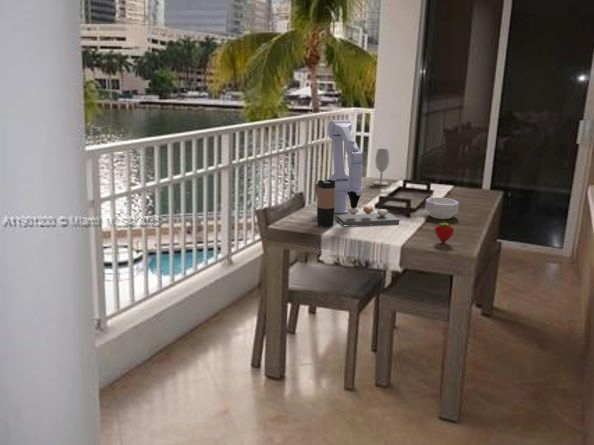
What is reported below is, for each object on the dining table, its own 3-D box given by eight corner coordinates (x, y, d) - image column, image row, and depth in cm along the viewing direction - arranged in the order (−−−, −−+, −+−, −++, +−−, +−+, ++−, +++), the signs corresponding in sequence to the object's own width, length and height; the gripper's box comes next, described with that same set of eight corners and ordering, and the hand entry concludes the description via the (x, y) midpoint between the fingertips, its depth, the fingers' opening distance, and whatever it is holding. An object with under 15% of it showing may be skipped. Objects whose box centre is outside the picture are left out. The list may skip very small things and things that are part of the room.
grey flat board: (344, 226, 259) (344, 222, 259) (336, 219, 270) (336, 215, 270) (399, 223, 265) (399, 219, 264) (389, 217, 276) (389, 212, 276)
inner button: (350, 215, 263) (350, 209, 262) (347, 212, 267) (347, 207, 266) (359, 215, 264) (359, 209, 263) (356, 212, 268) (356, 206, 267)
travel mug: (328, 228, 255) (330, 183, 250) (313, 225, 259) (314, 181, 254) (336, 224, 262) (338, 181, 256) (322, 222, 265) (323, 179, 260)
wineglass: (373, 185, 346) (375, 150, 340) (373, 182, 354) (375, 148, 349) (388, 186, 345) (390, 150, 339) (388, 183, 353) (390, 148, 347)
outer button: (379, 217, 266) (379, 211, 265) (376, 215, 270) (376, 209, 269) (388, 217, 267) (388, 211, 266) (385, 214, 271) (385, 209, 270)
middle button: (365, 214, 264) (365, 209, 263) (361, 212, 268) (362, 206, 267) (374, 214, 265) (374, 208, 264) (370, 211, 269) (371, 206, 268)
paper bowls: (462, 220, 273) (464, 204, 270) (431, 221, 270) (433, 204, 268) (449, 212, 287) (450, 196, 285) (420, 213, 285) (421, 197, 282)
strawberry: (450, 246, 234) (452, 222, 231) (431, 243, 237) (433, 219, 235) (454, 242, 239) (456, 219, 236) (436, 239, 242) (438, 216, 240)
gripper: (368, 181, 255) (367, 211, 258) (358, 174, 268) (357, 203, 272) (353, 181, 253) (352, 211, 257) (343, 175, 267) (342, 204, 270)
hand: (353, 207), depth 264 cm, fingers closed
